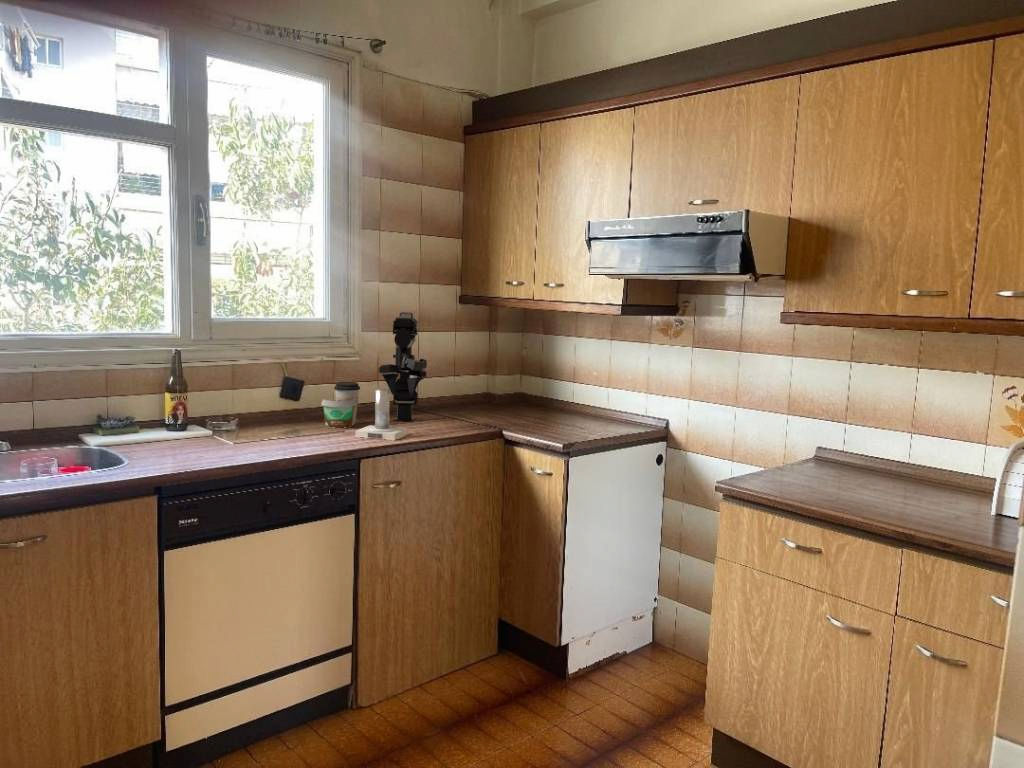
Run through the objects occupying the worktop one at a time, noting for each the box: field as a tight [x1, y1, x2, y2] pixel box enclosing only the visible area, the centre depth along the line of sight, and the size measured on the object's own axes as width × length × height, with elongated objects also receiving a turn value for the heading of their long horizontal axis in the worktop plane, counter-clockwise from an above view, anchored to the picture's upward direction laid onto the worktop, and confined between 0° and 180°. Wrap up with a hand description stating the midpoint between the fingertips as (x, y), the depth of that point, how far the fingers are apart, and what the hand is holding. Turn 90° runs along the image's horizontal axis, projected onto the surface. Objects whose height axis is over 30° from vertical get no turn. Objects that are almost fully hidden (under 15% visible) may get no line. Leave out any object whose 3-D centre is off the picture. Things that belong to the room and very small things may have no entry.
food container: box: [320, 398, 356, 429], centre depth 266 cm, size 12×6×10 cm, turn 105°
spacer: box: [374, 388, 391, 429], centre depth 253 cm, size 5×5×13 cm
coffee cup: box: [333, 381, 361, 425], centre depth 273 cm, size 9×9×15 cm
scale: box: [355, 425, 408, 441], centre depth 253 cm, size 12×14×3 cm
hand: (402, 395), depth 264 cm, fingers open, 9 cm apart
